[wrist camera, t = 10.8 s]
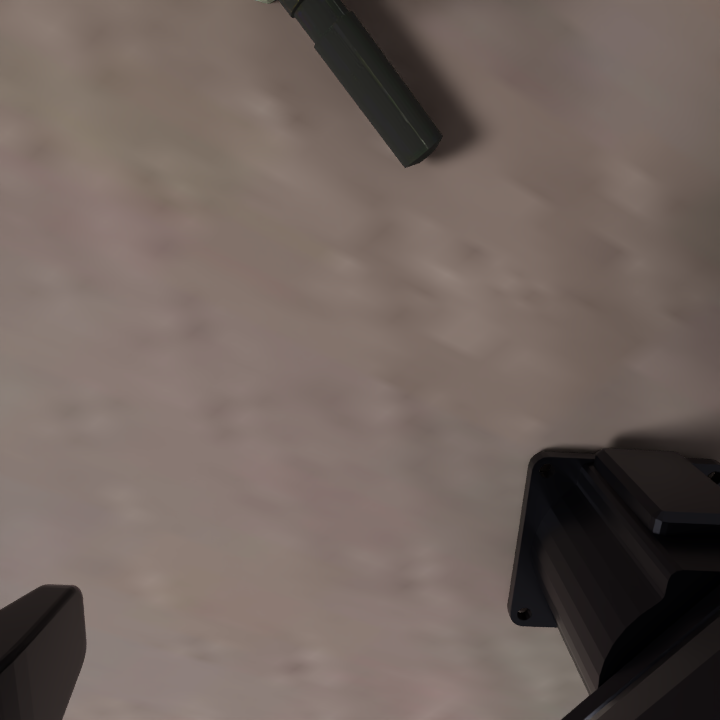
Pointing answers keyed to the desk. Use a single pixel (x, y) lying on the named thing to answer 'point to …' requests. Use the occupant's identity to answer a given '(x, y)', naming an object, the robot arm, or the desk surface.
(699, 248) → the desk surface
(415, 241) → the desk surface
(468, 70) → the desk surface
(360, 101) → the handheld radio
